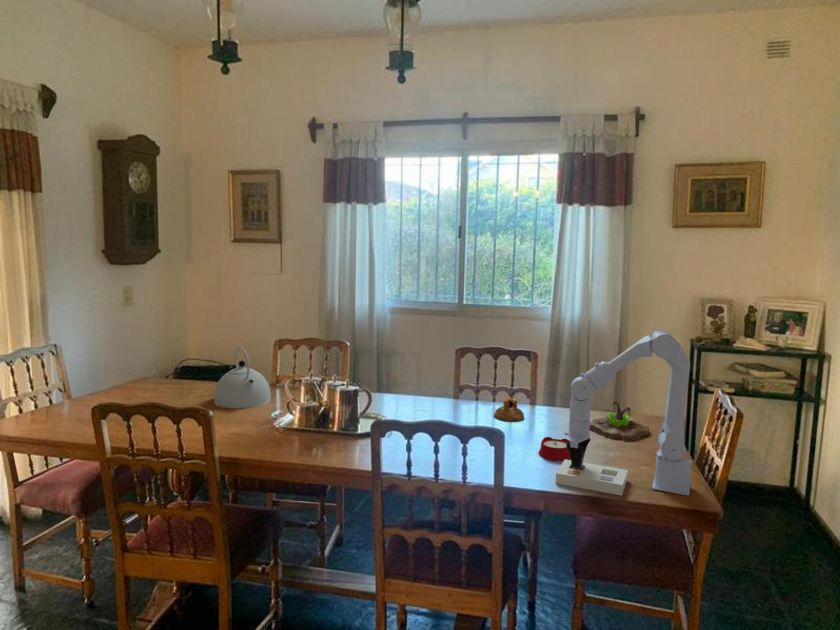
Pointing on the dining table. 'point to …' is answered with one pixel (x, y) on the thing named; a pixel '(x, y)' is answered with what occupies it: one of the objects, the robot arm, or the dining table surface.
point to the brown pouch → (509, 411)
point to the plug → (580, 465)
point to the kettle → (242, 387)
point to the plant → (619, 425)
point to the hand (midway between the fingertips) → (577, 464)
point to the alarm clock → (554, 449)
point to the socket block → (593, 477)
